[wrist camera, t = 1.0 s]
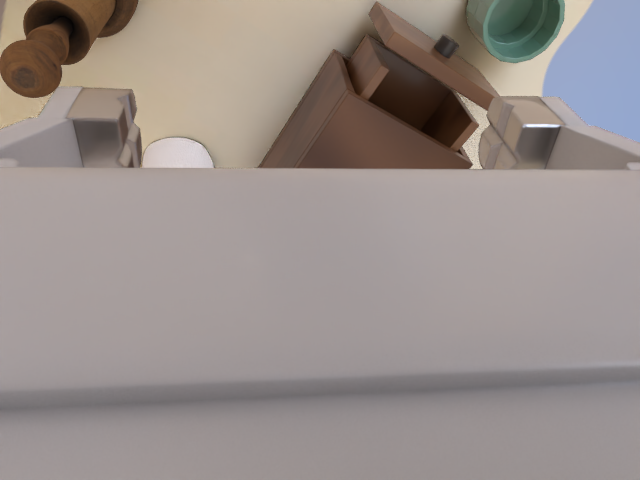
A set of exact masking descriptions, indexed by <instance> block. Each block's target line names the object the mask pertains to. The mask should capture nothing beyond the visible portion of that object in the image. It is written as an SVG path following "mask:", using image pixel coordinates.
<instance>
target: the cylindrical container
mask: <svg viewBox="0 0 640 480" xmlns="http://www.w3.org/2000/svg"><path fill="white" fill-rule="evenodd" d="M564 11H565V3H564V0H469V2H468V5H467V8H466V14H467V24H468V26H469V28H470V30H471V32H472V34H473V36H474V37H475V38H476V39H477V40H478V41H479V42H480V43H481V44H482V45H483V46H484V48H485V49H486V50H487V51H488V52H489V53H490V54H491V55H493V56H494V57H496V58H497V59H499V60H500V61H503V62H510V63H518V62H522V61H526V60H530V59H532V58H534V57H535V56H537V55H538V54H540V53H541V52H543V51H545V50H546V49H547V48H548V46H549V45H550V44H551V43H552V42H553V40H554V39H555V38H556V37H557V35H558V33H559V31H560V28H561V26H562V24H563V21H564Z"/></svg>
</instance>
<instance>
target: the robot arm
mask: <svg viewBox="0 0 640 480" xmlns="http://www.w3.org/2000/svg"><path fill="white" fill-rule="evenodd" d="M136 112H137V107H136V101H135V95H134V93H133V90H132V89H112V88H85V87H57V88H56V90H55V91H54V93H53V94H52V96H51V97H50V99H49V100H48V102H47V103H46V105H45V106H44V108H43V110H42V111H41V113H40V114H39V116H38V117H37V118H28V119H25V120H22V121H20V122H17V123H15V124H12V125H10V126H7V127H4V128H2V129H0V480H640V143H639V142H636V141H634V140H631V139H628V138H626V137H623V136H621V135H618V134H615V133H613V132H610V131H607V130H605V129H602V128H599V127H597V126H589V125H588V124H586V122H585V121H583V120H582V119H581V118H580V117H579V116H578V115H577V114H576V113H575V112H574V111H573V110H572V109H571V108H570V107H569V106H568V105H567V104H566V103H565V102H564V101H563V100H562V99H561V98H559V97H538V96H498V97H495V98H493V100H492V101H491V103H490V105H489V108H488V112H487V115H486V116H487V118H488V120H489V123H490V125H489V126H488V127H487V128H486V129H485V130H484V131H483V132H482V134H481V138H480V142H479V161H480V165H481V166H482V168H483V169H333V168H140V164H141V156H142V144H141V134H140V128H139V127H138V126H137V125H136V124H135V123H134V122H133V121H134V118H135V115H136Z"/></svg>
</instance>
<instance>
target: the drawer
mask: <svg viewBox="0 0 640 480" xmlns="http://www.w3.org/2000/svg"><path fill="white" fill-rule="evenodd" d="M368 15H369V17H370V18H371V20H372V22H373V24H374V26H375V28H376V29H377V31H378V33H379V35H380V37H381V39H382V41H383V42H384V44H385V46H384V45H383V44H381V43H380V42H378V41H376V40H375V39H373V38H372V37H370V36H369V35H365V37H364V38H363V40H362V41H361V43H360V45H359V46H358V48H357V49H356V51H355V52H354V54H353V55H352V57H351V58H350V60H349V61H348V63H347V64H346V69H347V72H348V75H349V77H350V80H351V83H352V86H353V89H354V91H355V94H357V95H359V96H360V97H362V98H364V99H366V100H367V101H369V102H371V103H373V104H374V105H376V106H378V107H379V108H381V109H383V110H385V111H386V112H388V113H390V114H392V115H393V116H395V117H397V118H398V119H400V120H402V121H404V122H405V123H407V124H409V125H411V126H412V127H414V128H416V129H418V130H419V131H421V132H423V133H424V134H426V135H428V136H430V137H431V138H433V139H435V140H437V141H438V142H440V143H442V144H443V145H445V146H447V147H449V148H450V149H452V150H454V151H456V152H457V151H458V150H459V149H460V148H461V146H462V145H463V144H464V143H465V142H466V141H467V139H468V138H469V137H470V136H471V135H472V134H473V132H474V131H475V130H476V129H477V128H478V126H479V124H478V123H477V122H476V120H475V119H474V117H473V116H472V114H471V113H470V111H469V110H468V109H467V107H466V106H465V104H464V103H463V101H462V100H461V98H460V97H459V96H458V94H457V93H456V91H457V92H458V93H460V94H462V95H463V96H465V97H466V98H468V99H469V100H471V101H473V102H474V103H476V104H477V105H479V106H480V107H482V108H484V109H485V110H487V111H488V108H489V105H490V103H491V101H492V100H493V98H495V97H498V96H500V95H499V94H498V93H497V92H496V91H495V89H494V88H493V87H492V86H491V85H490V83H489V82H488V81H487V80H486V79H485V77H484V76H483V75H482V74H481V72H480V71H479V70H478V69H476V68H475V67H473V66H472V65H470V64H469V63H467V62H466V61H464V60H463V59H461V58H460V57H459V56H457V55H456V54H454V52H455V51H456V50H457V48H458V47H459V45H458V44H457V43H456V42H455V41H454V40H453V39H451V38H450V37H449V36H447V35H445V34H443V35H442V36H441V37H440V39H439V40H438V41H437V42H436V41H435V40H433V39H432V38H430V37H429V36H427V35H426V34H424V33H423V32H421V31H420V30H418V29H417V28H415V27H414V26H412V25H411V24H409V23H408V22H406V21H405V20H403V19H402V18H400V17H399V16H397V15H396V14H394V13H393V12H392V11H390V10H389V9H387V8H386V7H384V6H383V5H381V4H380V3H378V2H376V3H375V5H374V6H373V8H372V9H371V11H370V12H369V14H368ZM387 47H388V48H387ZM395 52H396V53H395ZM398 54H399V55H398ZM406 59H407V60H406ZM409 61H410V62H409ZM417 66H418V67H417ZM420 68H421V69H420ZM428 73H429V74H428ZM431 75H432V76H431ZM439 80H440V81H439ZM442 82H443V83H442ZM450 87H451V88H450ZM453 89H454V90H453Z"/></svg>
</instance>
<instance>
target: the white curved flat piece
mask: <svg viewBox="0 0 640 480" xmlns="http://www.w3.org/2000/svg"><path fill="white" fill-rule="evenodd" d="M142 168H214V166H213V163H212V159H211V158H210V155H209V153H208V151H207V150H206V149H205V147H204V146H203V145H201V144H199V143H197V142H196V141H194V140H190V139H188V138H187V139H186V138H180V137H177V138H174V137H173V138H172V137H171V138H166V139H162V140H158V141H155V142H154V143H151V144H150V145H149V146H148V147H147V148H146V150H145V152H144V156H143V162H142Z"/></svg>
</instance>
